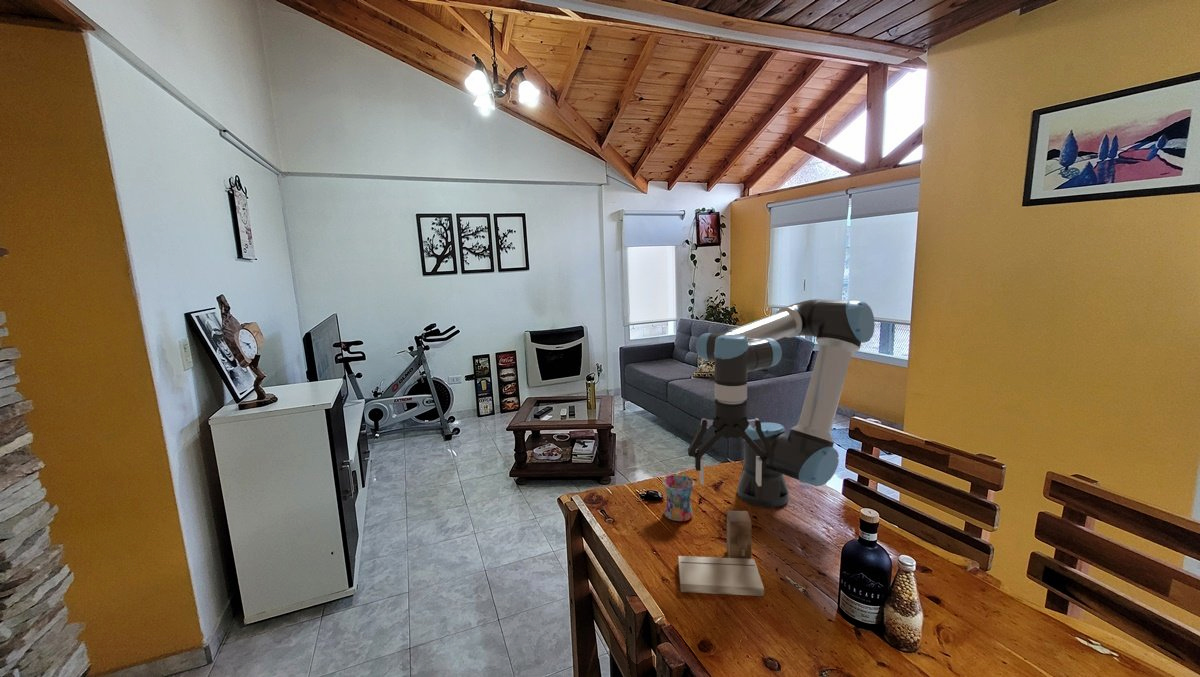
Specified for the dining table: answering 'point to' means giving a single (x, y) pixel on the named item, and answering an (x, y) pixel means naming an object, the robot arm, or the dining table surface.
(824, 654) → the dining table surface
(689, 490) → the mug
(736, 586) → the board
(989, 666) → the dining table surface
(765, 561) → the dining table surface
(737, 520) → the brown box
